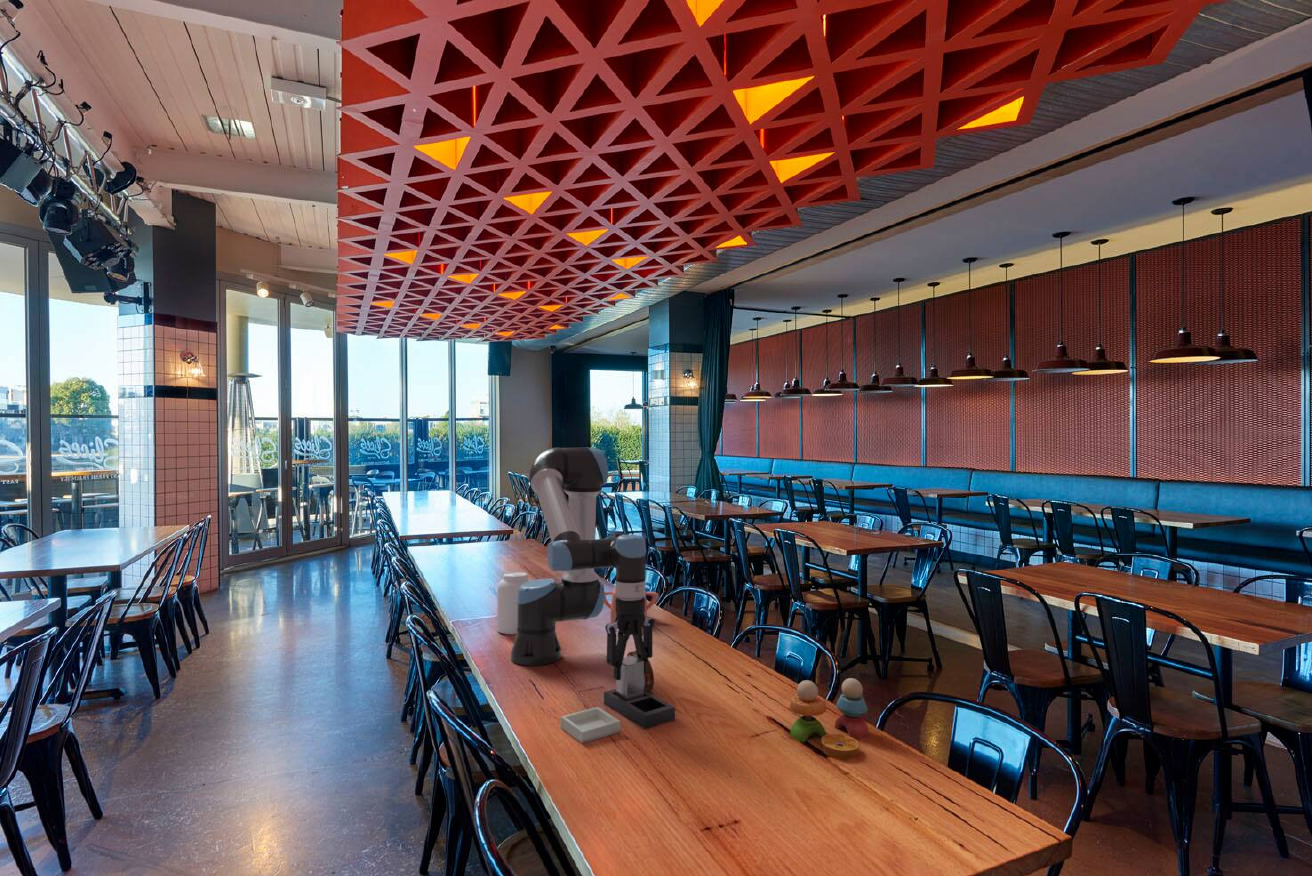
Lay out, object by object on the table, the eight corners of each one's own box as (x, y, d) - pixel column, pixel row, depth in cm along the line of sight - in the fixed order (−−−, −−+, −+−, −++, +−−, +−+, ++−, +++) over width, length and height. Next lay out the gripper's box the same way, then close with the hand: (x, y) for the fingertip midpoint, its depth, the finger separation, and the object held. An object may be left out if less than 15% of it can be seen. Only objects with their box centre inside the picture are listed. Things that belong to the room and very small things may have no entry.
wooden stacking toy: (833, 765, 136) (834, 705, 136) (782, 732, 152) (783, 678, 152) (897, 747, 144) (897, 691, 144) (842, 718, 160) (842, 666, 160)
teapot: (658, 627, 236) (658, 588, 236) (597, 626, 236) (597, 588, 236) (658, 612, 256) (659, 577, 256) (602, 612, 256) (602, 576, 256)
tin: (655, 695, 173) (655, 663, 173) (643, 696, 172) (644, 664, 172) (635, 675, 187) (635, 646, 187) (624, 677, 186) (625, 647, 186)
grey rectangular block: (615, 703, 166) (616, 659, 166) (632, 698, 169) (632, 656, 169) (626, 709, 162) (627, 665, 162) (643, 705, 165) (643, 661, 165)
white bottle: (540, 628, 232) (541, 572, 232) (515, 637, 222) (515, 578, 222) (514, 623, 239) (515, 568, 239) (489, 631, 228) (489, 574, 229)
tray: (560, 727, 153) (560, 716, 153) (597, 717, 158) (597, 706, 158) (582, 743, 144) (582, 732, 144) (620, 732, 150) (620, 721, 150)
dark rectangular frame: (603, 703, 167) (603, 691, 167) (633, 695, 172) (633, 684, 172) (644, 729, 152) (644, 716, 152) (675, 719, 157) (675, 707, 157)
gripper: (608, 605, 157) (607, 702, 157) (667, 595, 168) (667, 686, 168) (592, 599, 163) (591, 692, 163) (650, 589, 174) (649, 677, 174)
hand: (629, 689), depth 165 cm, fingers closed on grey rectangular block, 5 cm apart
